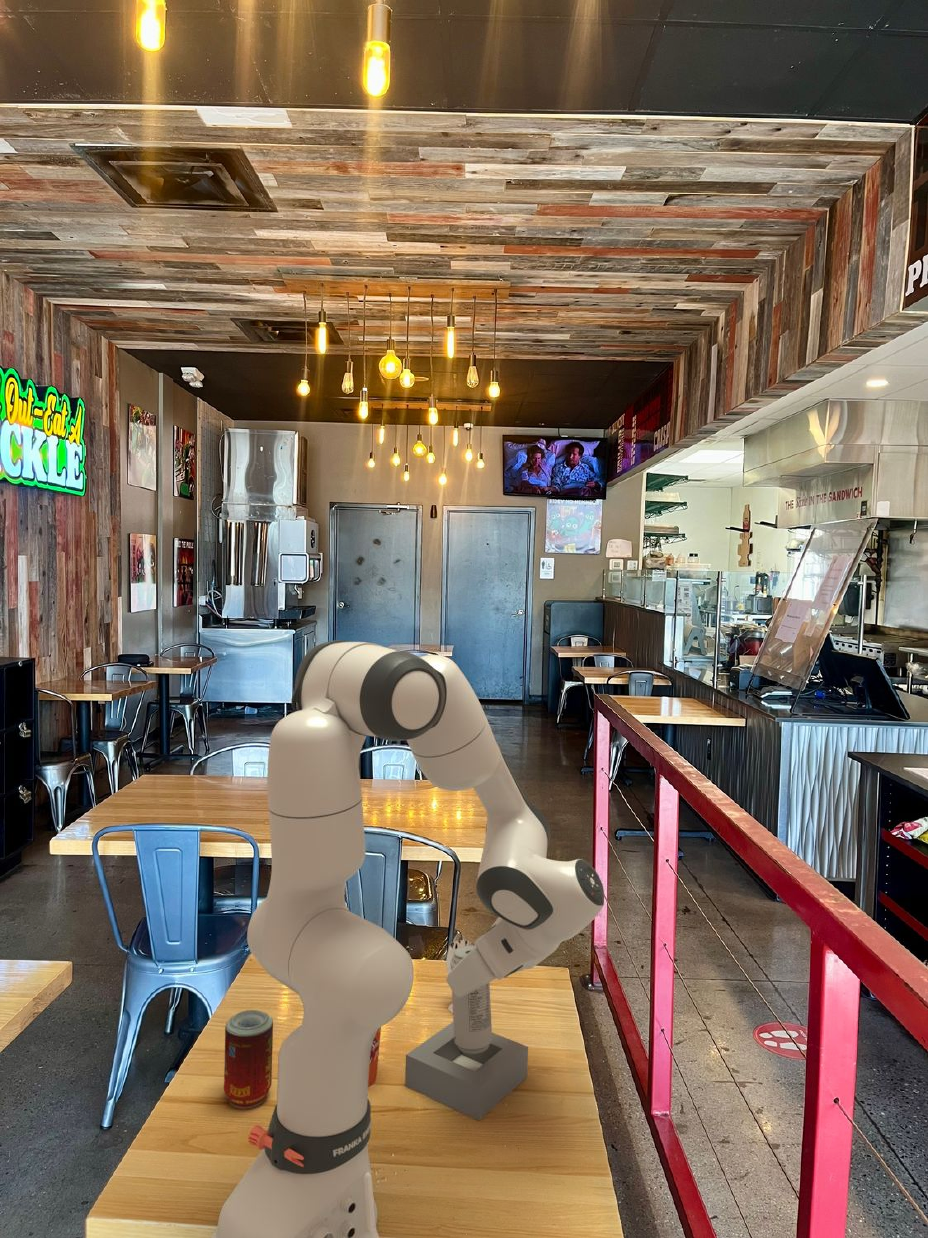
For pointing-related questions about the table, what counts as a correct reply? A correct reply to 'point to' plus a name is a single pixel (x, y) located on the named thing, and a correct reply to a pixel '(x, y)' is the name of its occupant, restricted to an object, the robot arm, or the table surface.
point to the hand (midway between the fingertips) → (468, 980)
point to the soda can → (248, 1058)
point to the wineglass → (450, 955)
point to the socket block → (466, 1072)
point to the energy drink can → (471, 1014)
